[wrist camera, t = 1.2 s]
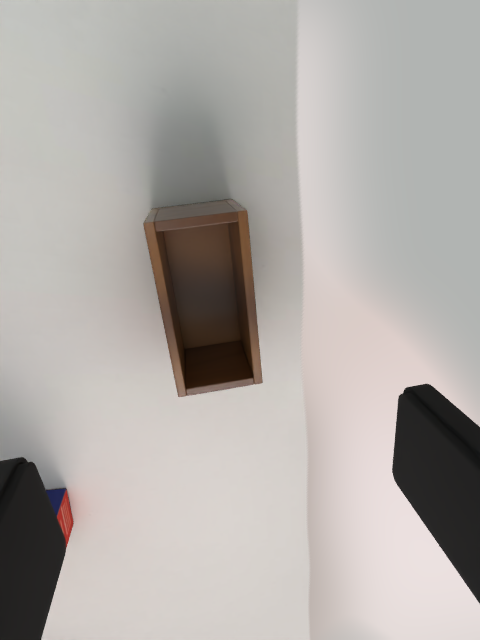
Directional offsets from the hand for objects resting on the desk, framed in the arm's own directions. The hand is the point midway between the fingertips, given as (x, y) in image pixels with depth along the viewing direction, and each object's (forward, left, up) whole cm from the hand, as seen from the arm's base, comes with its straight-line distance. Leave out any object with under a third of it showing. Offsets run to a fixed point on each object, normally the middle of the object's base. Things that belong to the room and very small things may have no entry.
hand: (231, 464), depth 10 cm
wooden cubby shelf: (0, 0, -17) cm, 17 cm away
